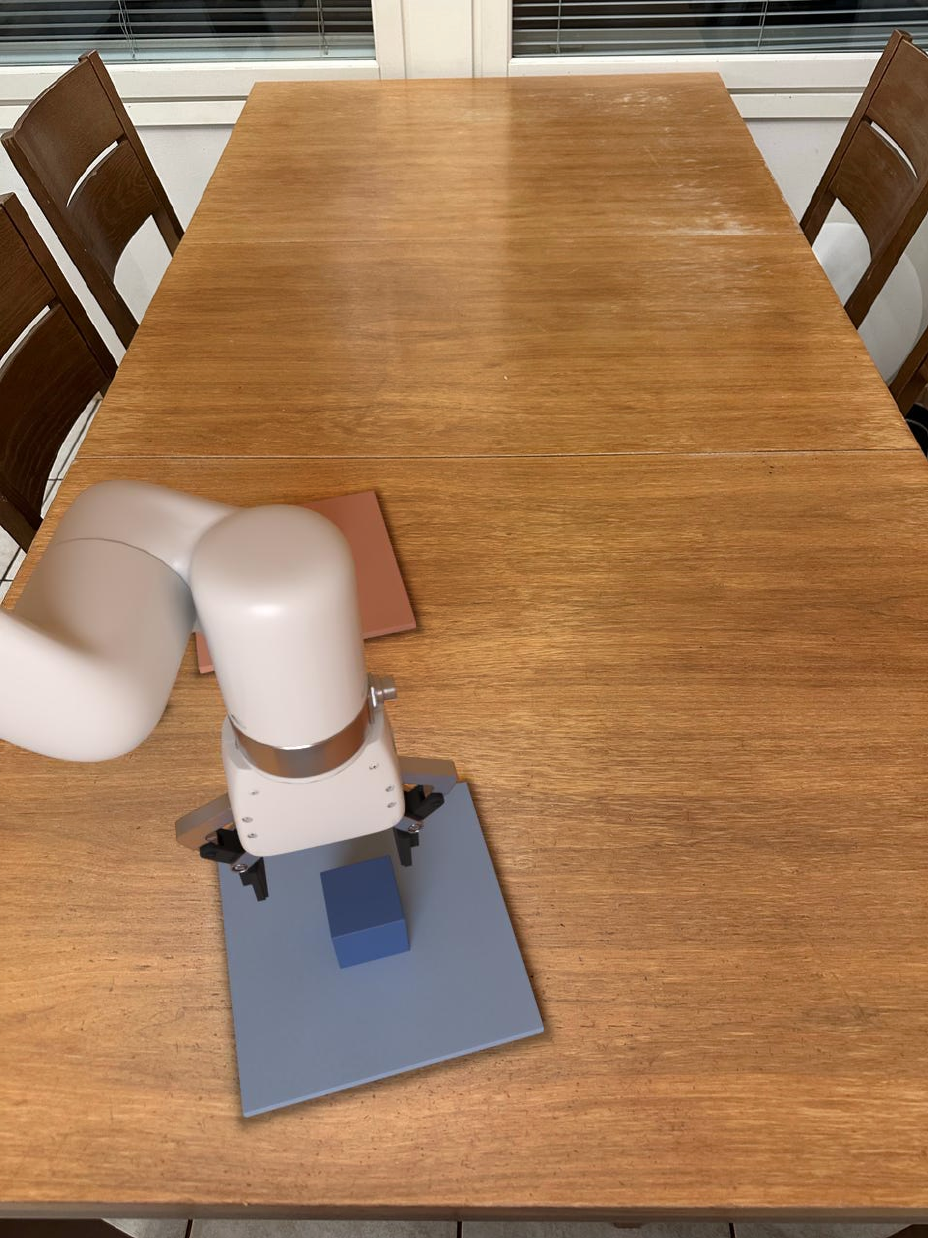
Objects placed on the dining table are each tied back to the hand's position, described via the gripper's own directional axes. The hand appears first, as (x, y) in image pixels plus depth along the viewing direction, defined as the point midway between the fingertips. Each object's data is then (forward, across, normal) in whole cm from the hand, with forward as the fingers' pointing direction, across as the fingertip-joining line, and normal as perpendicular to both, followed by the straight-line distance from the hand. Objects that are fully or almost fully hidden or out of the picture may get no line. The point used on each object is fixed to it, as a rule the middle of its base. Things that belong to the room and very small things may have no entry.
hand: (332, 864), depth 64 cm
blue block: (+7, -2, +2) cm, 7 cm away
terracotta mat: (+8, -1, -36) cm, 37 cm away
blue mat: (+8, -2, +2) cm, 8 cm away
